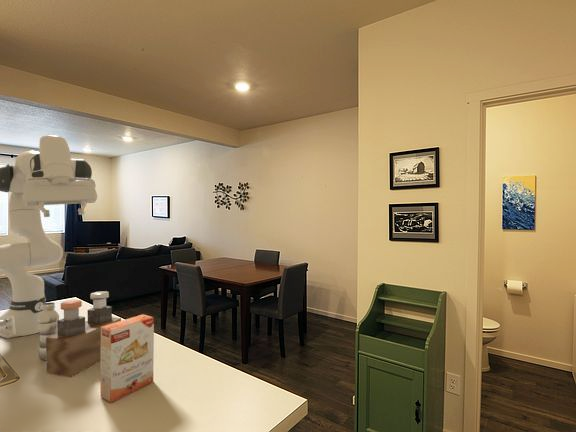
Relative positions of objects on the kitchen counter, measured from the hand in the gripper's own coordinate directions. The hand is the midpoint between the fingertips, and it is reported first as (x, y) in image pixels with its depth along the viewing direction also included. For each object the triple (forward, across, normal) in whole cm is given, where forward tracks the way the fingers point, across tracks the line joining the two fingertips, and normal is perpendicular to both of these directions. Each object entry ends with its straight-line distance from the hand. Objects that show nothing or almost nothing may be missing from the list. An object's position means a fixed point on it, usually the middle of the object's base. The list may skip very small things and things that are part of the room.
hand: (64, 215), depth 108 cm
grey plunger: (+29, -9, -25) cm, 39 cm away
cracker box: (+58, -10, -2) cm, 59 cm away
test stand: (+45, -4, -29) cm, 53 cm away
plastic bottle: (+40, +7, -38) cm, 55 cm away
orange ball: (+31, 0, -18) cm, 36 cm away
